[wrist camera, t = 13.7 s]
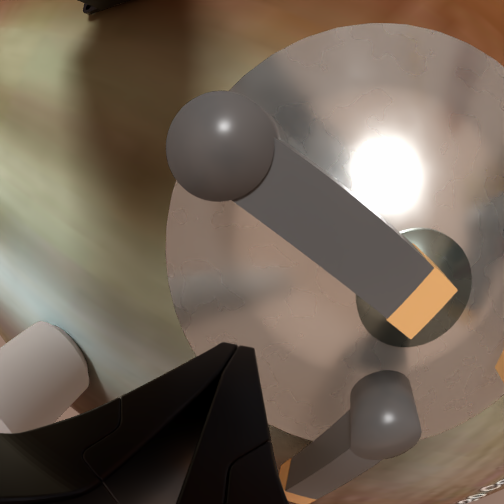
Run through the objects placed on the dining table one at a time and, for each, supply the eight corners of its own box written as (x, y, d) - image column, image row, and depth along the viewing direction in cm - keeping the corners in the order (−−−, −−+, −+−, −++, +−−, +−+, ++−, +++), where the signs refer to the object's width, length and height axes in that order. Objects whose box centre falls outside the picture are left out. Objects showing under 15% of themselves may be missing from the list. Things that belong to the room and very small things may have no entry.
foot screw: (191, 159, 13) (148, 163, 10) (234, 92, 12) (203, 72, 8) (385, 306, 13) (400, 351, 10) (436, 248, 12) (469, 279, 8)
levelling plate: (185, 24, 12) (171, 13, 10) (583, 112, 7) (598, 112, 6) (186, 407, 20) (177, 422, 19) (486, 431, 15) (491, 445, 14)
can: (108, 377, 21) (22, 472, 10) (74, 390, 24) (5, 462, 13) (55, 304, 20) (-51, 379, 9) (30, 330, 23) (-50, 391, 12)
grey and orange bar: (376, 361, 14) (384, 410, 11) (422, 382, 14) (435, 428, 10) (276, 456, 18) (266, 495, 15) (316, 470, 18) (311, 508, 15)
